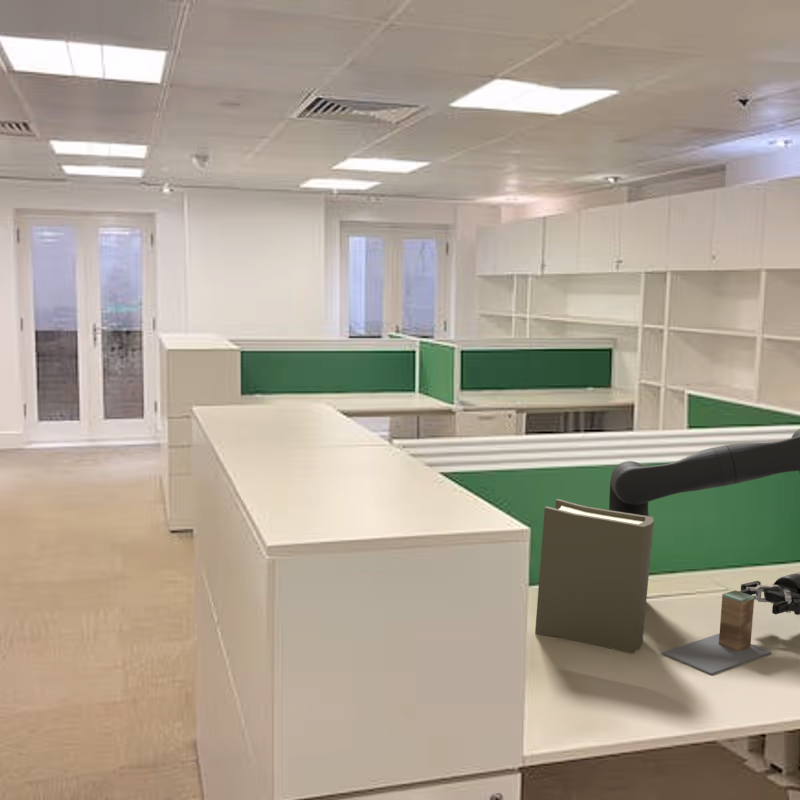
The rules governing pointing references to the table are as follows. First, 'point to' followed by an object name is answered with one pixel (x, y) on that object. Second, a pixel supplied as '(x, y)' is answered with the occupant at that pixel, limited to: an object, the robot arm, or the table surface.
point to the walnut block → (736, 620)
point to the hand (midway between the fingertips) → (755, 603)
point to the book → (594, 575)
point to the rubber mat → (713, 655)
